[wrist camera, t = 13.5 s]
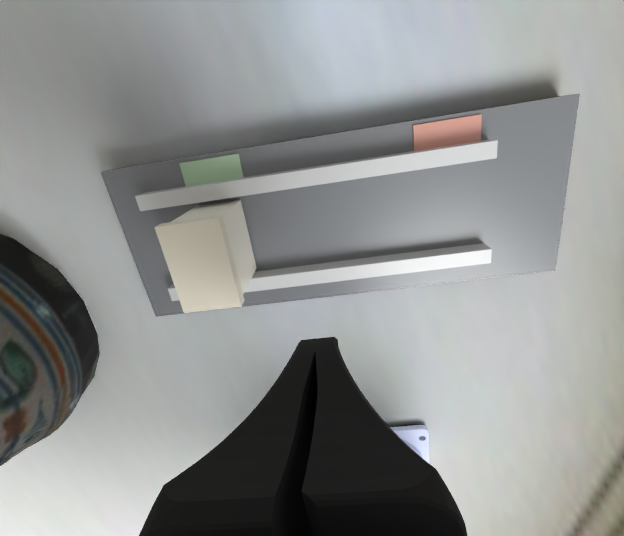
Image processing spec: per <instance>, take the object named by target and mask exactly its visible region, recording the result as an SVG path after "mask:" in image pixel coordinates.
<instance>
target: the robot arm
mask: <svg viewBox="0 0 624 536" xmlns="http://www.w3.org/2000/svg"><path fill="white" fill-rule="evenodd" d="M139 536H467V532H466V526H465V523H464V520H463V518H462V515H461V513H460V511H459V509H458V507H457V505H456V503H455V501H454V499H453V497H452V495H451V493H450V491H449V490H448V488H447V486H446V484H445V483H444V481H443V480H442V478H441V476H440V475H439V473H438V472H437V470H436V469H435V468H434V467H433V466H431V465H430V461H429V432H428V429H427V427H426V426H424V425H414V426H400V427H389V426H388V425H387V424H386V423H385V422H384V421H383V420H382V418H381V417H380V416H379V415H378V414H377V412H376V411H375V410H374V409H373V407H372V406H371V405H370V404H369V402H368V401H367V400H366V398H365V397H364V395H363V394H362V392H361V391H360V389H359V388H358V386H357V385H356V383H355V381H354V380H353V378H352V376H351V375H350V373H349V371H348V369H347V367H346V365H345V363H344V361H343V358H342V356H341V353H340V351H339V347H338V341H337V339H336V338H335V337H329V338H319V339H309V340H301V341H300V342H299V344H298V346H297V348H296V349H295V351H294V353H293V355H292V357H291V358H290V360H289V362H288V363H287V365H286V367H285V368H284V370H283V371H282V373H281V374H280V376H279V378H278V379H277V380H276V382H275V383H274V385H273V386H272V387H271V389H270V390H269V392H268V393H267V394H266V396H265V397H264V398H263V399H262V401H261V402H260V403H259V404H258V406H257V407H256V408H255V409H254V410H253V411H252V412H251V414H250V415H249V416H248V417H247V418H246V419H245V420H244V421H243V422H242V423H241V424H240V425H239V426H238V427H237V428H236V429H235V430H234V431H233V432H232V433H231V434H230V435H229V436H228V437H227V438H225V439H224V440H223V441H222V442H221V443H220V444H219V445H217V446H216V447H215V448H214V449H213V450H211V451H210V452H209V453H208V454H206V455H205V456H204V457H203V458H201V459H200V460H199V461H198V462H196V463H195V464H193V465H192V466H191V467H189V468H188V469H186V470H185V471H184V472H182V473H181V474H179V475H178V476H177V477H175V478H174V479H172V480H171V481H169V482H168V483H166V484H165V485H164V486H163V488H162V490H161V492H160V493H159V495H158V497H157V499H156V501H155V502H154V505H153V507H152V509H151V511H150V513H149V515H148V517H147V519H146V522H145V524H144V526H143V528H142V530H141V533H140V535H139Z"/></svg>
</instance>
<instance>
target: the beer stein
mask: <svg viewBox="0 0 624 536" xmlns="http://www.w3.org/2000/svg"><path fill="white" fill-rule="evenodd" d="M98 358H99V345H98V336H97V333H96V330H95V328H94V325H93V323H92V321H91V318H90V316H89V313H88V311H87V309H86V306H85V304H84V301H83V300H82V299H81V297H80V296H79V295H78V294H77V293H76V291H75V290H74V289H73V288H72V286H71V285H70V284H69V283H68V281H67V280H66V279H65V278H64V277H63V275H62V274H61V273H60V272H59V270H58V269H56V268H55V267H53V266H52V265H51V264H49V263H48V262H46V261H45V260H43V259H42V258H40V257H39V256H37V255H36V254H35V253H33V252H32V251H30V250H29V249H27V248H26V247H24V246H23V245H22V244H20V243H19V242H17V241H16V240H14V239H13V238H10V237H6V236H3V235H0V466H1V465H2V464H4V463H5V462H7V461H8V460H10V459H11V458H12V457H14V456H15V455H17V454H18V453H20V452H21V451H23V450H24V449H26V448H27V447H29V446H31V445H33V444H35V443H37V442H39V441H40V440H42V439H44V438H46V437H47V436H49V435H50V434H52V433H53V432H54V431H55V430H57V429H58V428H59V427H60V426H61V425H62V424H63V423H64V422H65V420H66V419H67V418H68V417H69V416H70V414H71V413H72V411H73V410H74V408H75V407H76V405H77V403H78V401H79V399H80V397H81V395H82V394H83V392H84V391H85V389H86V388H87V386H88V385H89V383H90V382H91V380H92V379H93V377H94V375H95V370H96V366H97V362H98Z"/></svg>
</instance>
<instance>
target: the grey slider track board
mask: <svg viewBox="0 0 624 536" xmlns="http://www.w3.org/2000/svg"><path fill="white" fill-rule="evenodd" d="M578 101H579V94H573V95H565V96H558V97H552V98H546V99H540V100H534V101H528V102H521V103H515V104H509V105H503V106H497V107H491V108H485V109H479V110H473V111H466V112H460V113H454V114H448V115H442V116H436V117H430V118H424V119H418V120H412V121H405V122H399V123H393V124H387V125H381V126H375V127H369V128H363V129H357V130H351V131H344V132H338V133H332V134H326V135H320V136H314V137H308V138H302V139H296V140H289V141H283V142H277V143H271V144H265V145H259V146H253V147H247V148H241V149H235V150H228V151H222V152H216V153H210V154H204V155H198V156H192V157H186V158H180V159H173V160H167V161H161V162H155V163H149V164H143V165H137V166H131V167H125V168H119V169H113V170H108V171H103V172H101V174H102V177H103V179H104V182H105V185H106V187H107V190H108V192H109V195H110V198H111V200H112V203H113V206H114V208H115V211H116V213H117V216H118V219H119V221H120V224H121V226H122V229H123V232H124V234H125V237H126V239H127V242H128V245H129V247H130V250H131V253H132V255H133V258H134V260H135V263H136V266H137V268H138V271H139V273H140V276H141V279H142V281H143V284H144V287H145V289H146V292H147V294H148V297H149V300H150V302H151V305H152V307H153V310H154V313H155V315H156V316H164V315H173V314H181V313H184V312H183V309H182V306H181V303H180V300H179V298H178V295H177V292H176V289H175V286H174V283H173V280H172V277H171V274H170V271H169V268H168V266H167V263H166V260H165V257H164V254H163V251H162V248H161V245H160V242H159V239H158V236H157V234H156V231H155V228H154V227H156V226H158V225H159V224H162V223H169V222H171V221H173V220H175V219H176V218H178V217H180V216H181V215H183V214H185V213H186V212H188V211H189V210H191V209H193V208H194V207H196V206H202V205H209V204H216V203H222V202H229V201H236V200H241V203H242V207H243V212H244V216H245V220H246V224H247V229H248V233H249V237H250V242H251V246H252V250H253V254H254V259H255V263H256V267H257V268H256V270H255V272H254V274H253V276H252V278H251V280H250V282H249V284H248V286H247V288H246V290H245V292H244V294H243V296H244V303H243V305H242V306H251V305H260V304H268V303H277V302H286V301H294V300H303V299H312V298H321V297H329V296H338V295H347V294H355V293H364V292H373V291H381V290H390V289H399V288H407V287H416V286H425V285H433V284H442V283H451V282H460V281H468V280H477V279H486V278H494V277H503V276H512V275H520V274H529V273H538V272H546V271H555V270H556V263H557V256H558V248H559V241H560V234H561V226H562V219H563V212H564V204H565V197H566V190H567V182H568V175H569V168H570V160H571V153H572V146H573V138H574V131H575V123H576V116H577V109H578Z"/></svg>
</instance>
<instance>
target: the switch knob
mask: <svg viewBox="0 0 624 536" xmlns="http://www.w3.org/2000/svg"><path fill="white" fill-rule="evenodd" d="M154 228H155V231H156V234H157V236H158V239H159V242H160V245H161V248H162V251H163V254H164V257H165V260H166V263H167V266H168V268H169V271H170V274H171V277H172V280H173V283H174V286H175V289H176V292H177V295H178V298H179V300H180V303H181V306H182V309H183V312H184V313H190V312H199V311H208V310H216V309H225V308H234V307H242V305H243V303H244V296H243V294H244V292H245V290H246V288H247V286H248V284H249V282H250V280H251V278H252V276H253V274H254V272H255V270H256V268H257V267H256V263H255V259H254V254H253V250H252V246H251V242H250V237H249V233H248V229H247V224H246V220H245V216H244V212H243V207H242V203H241V200H236V201H229V202H222V203H216V204H209V205H202V206H196V207H194V208H193V209H191V210H189V211H188V212H186V213H185V214H183V215H181V216H180V217H178V218H176V219H175V220H173V221H171V222H169V223H162V224H159V225H158V226H156V227H154Z"/></svg>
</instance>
